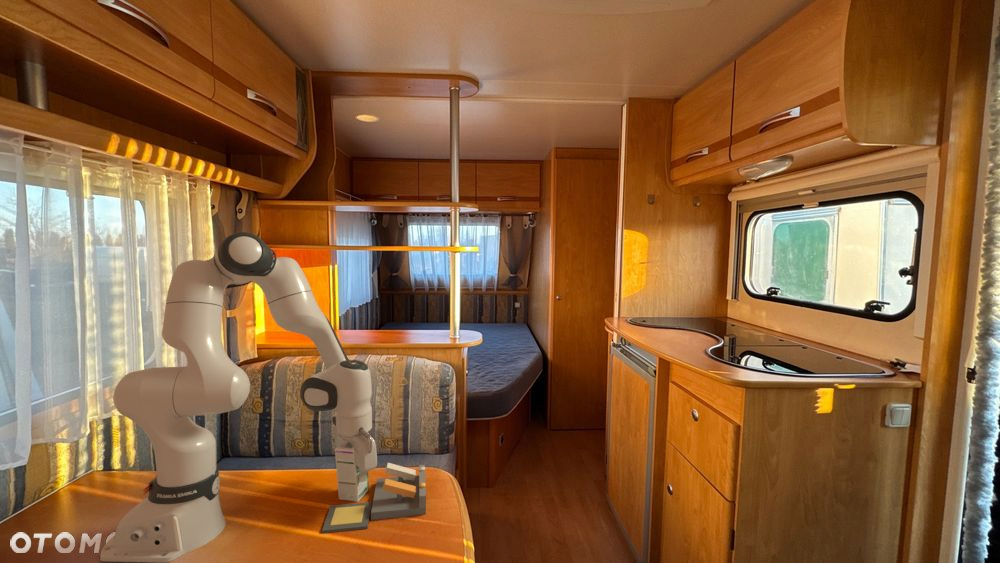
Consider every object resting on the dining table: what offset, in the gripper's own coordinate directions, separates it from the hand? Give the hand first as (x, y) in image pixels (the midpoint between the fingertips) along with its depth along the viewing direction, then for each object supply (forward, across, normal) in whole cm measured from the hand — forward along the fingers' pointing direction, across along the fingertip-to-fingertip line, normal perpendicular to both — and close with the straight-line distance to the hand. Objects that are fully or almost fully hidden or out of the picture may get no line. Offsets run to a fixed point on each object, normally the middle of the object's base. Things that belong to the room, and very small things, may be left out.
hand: (355, 474), depth 115 cm
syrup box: (+6, 0, 0) cm, 6 cm away
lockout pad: (+6, -8, +5) cm, 12 cm away
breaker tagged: (+1, -12, -6) cm, 14 cm away
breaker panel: (+6, -9, -8) cm, 14 cm away
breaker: (+1, -5, -11) cm, 12 cm away
